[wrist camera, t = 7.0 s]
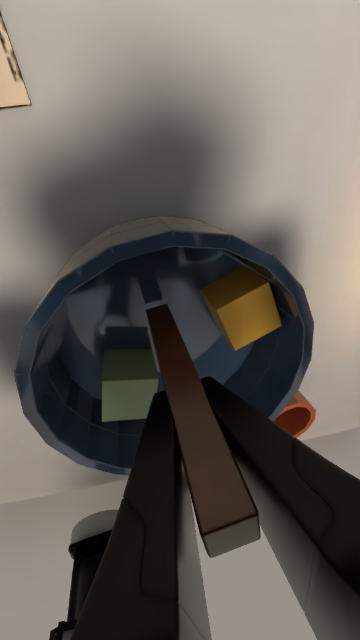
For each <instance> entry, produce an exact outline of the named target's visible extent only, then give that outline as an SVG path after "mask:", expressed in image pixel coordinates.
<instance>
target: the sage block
mask: <svg viewBox="0 0 360 640" xmlns="http://www.w3.org/2000/svg"><path fill="white" fill-rule="evenodd" d="M158 381H159V378H158V374H157V369H156V365H155V360H154V356H153V351H152V349H104V357H103V372H102V422H107V421H120V420H132V419H145V418H147V415H148V411H149V408H150V405H151V401H152V398H153V395H154V394H155V393H157V389H158Z"/></svg>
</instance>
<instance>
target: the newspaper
mask: <svg viewBox="0 0 360 640" xmlns="http://www.w3.org/2000/svg"><path fill="white" fill-rule="evenodd" d="M15 105H31V103H30V100H29V97H28V94H27V91H26V88H25V85H24V82H23V79H22V77H21V74H20V71H19V68H18V65H17V62H16V59H15V56H14V53H13V50H12V47H11V44H10V41H9V38H8V35H7V32H6V29H5V26H4V23H3V20H2V17H1V14H0V107H7V106H15Z"/></svg>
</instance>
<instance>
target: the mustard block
mask: <svg viewBox="0 0 360 640" xmlns="http://www.w3.org/2000/svg"><path fill="white" fill-rule="evenodd" d="M200 292H201V294H202V296H203V298H204V300H205V303H206V305H207V307H208V309H209V311H210V313H211V315H212V317H213V319H214V321H215V323H216V326H217V327H218V328H219V330H220V331H221V333H222V334H223V335H224V337H225V338H226V339H227V341H228V342H229V344H230V345H231V346H232V348H233V349H234V350H235V351H236V350H238V349H240V348H242V347H243V346H245V345H247V344H249V343H251V342H253V341H255V340H256V339H258V338H260V337H262V336H264V335H266V334H268V333H270V332H271V331H273V330H275V329H277V328H279V327H281V326H282V324H281V321H280V317H279V314H278V311H277V307H276V304H275V300H274V297H273V294H272V290H271V287H270V284H269V282H268V281H267V280H265V279H263V278H262V277H260V276H259V275H257V274H256V273H254V272H252V271H251V270H249V269H248V268H246V267H244V266H242V267H240V268H238V269H236V270H234V271H232V272H231V273H229V274H227V275H225V276H223V277H221V278H220V279H218V280H216V281H214V282H212V283H211V284H209V285H207V286H205V287H203V288H201V289H200Z"/></svg>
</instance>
